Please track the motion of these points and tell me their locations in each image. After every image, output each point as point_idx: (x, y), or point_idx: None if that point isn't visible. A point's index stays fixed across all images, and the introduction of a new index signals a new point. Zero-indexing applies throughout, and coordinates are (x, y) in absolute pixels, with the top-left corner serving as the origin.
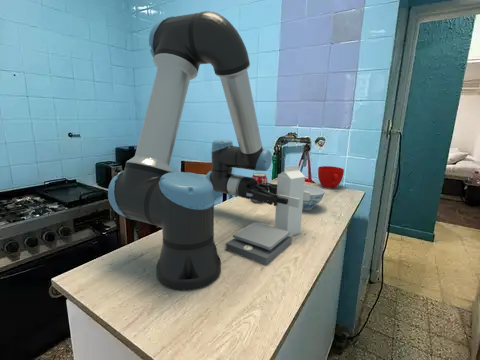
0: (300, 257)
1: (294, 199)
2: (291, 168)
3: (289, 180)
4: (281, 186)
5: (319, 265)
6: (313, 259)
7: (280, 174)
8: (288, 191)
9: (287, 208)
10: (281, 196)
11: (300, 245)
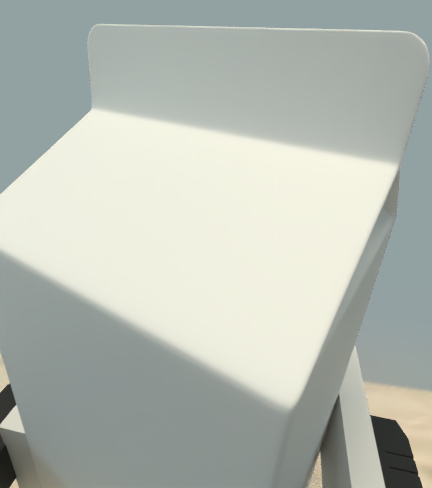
0: (416, 458)
1: (352, 354)
2: (230, 89)
3: (383, 248)
4: (308, 448)
5: (405, 390)
6: (386, 411)
7: (324, 313)
8: (345, 367)
9: (309, 482)
10: (381, 483)
11: (316, 477)
